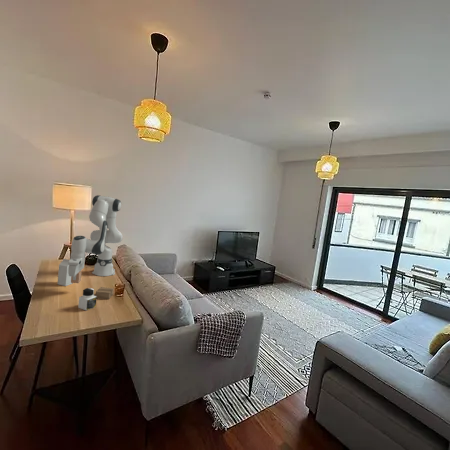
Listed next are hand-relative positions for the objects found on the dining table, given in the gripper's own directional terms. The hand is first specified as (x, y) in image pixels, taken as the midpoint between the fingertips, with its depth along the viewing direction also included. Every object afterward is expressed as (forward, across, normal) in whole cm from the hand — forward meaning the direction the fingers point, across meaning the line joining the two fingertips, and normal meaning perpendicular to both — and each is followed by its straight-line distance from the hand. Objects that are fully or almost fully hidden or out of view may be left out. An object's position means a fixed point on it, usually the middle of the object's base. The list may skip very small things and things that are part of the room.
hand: (76, 278), depth 181 cm
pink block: (+3, 0, 0) cm, 3 cm away
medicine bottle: (+10, +24, +15) cm, 30 cm away
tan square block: (+10, +5, +21) cm, 24 cm away
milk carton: (+11, -15, -12) cm, 22 cm away
